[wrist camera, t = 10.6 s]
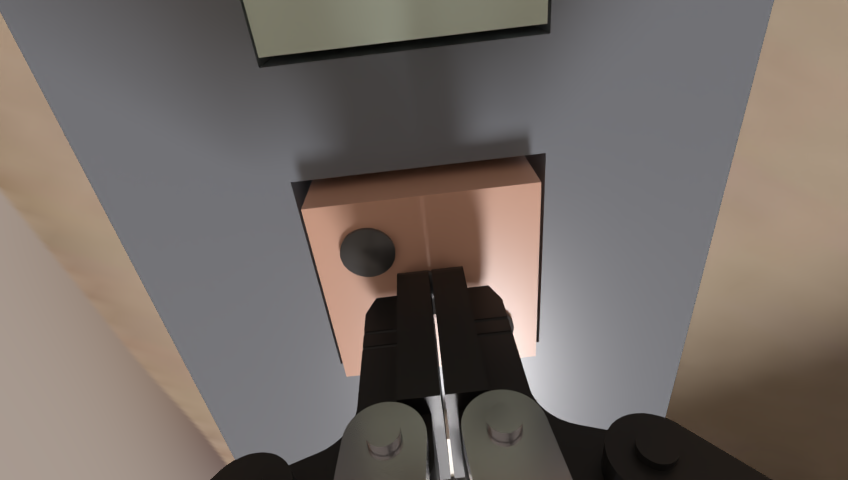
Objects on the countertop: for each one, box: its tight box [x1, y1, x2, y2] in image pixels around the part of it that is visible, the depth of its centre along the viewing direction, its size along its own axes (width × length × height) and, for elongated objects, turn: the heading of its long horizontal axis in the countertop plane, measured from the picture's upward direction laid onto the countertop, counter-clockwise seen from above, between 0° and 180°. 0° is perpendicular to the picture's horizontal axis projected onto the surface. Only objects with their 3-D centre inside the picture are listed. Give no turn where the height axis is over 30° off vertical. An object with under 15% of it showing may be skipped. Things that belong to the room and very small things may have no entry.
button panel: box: [0, 0, 774, 465], centre depth 13 cm, size 25×14×4 cm, turn 6°
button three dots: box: [301, 156, 541, 377], centre depth 13 cm, size 5×5×5 cm
